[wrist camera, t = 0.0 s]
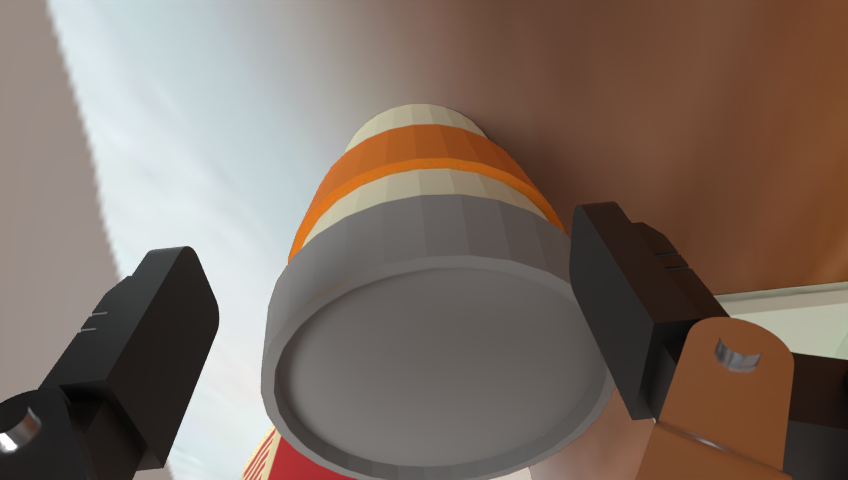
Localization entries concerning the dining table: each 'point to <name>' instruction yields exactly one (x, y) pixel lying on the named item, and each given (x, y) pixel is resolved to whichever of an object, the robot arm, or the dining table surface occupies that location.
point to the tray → (798, 316)
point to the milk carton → (284, 462)
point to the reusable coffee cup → (429, 313)
